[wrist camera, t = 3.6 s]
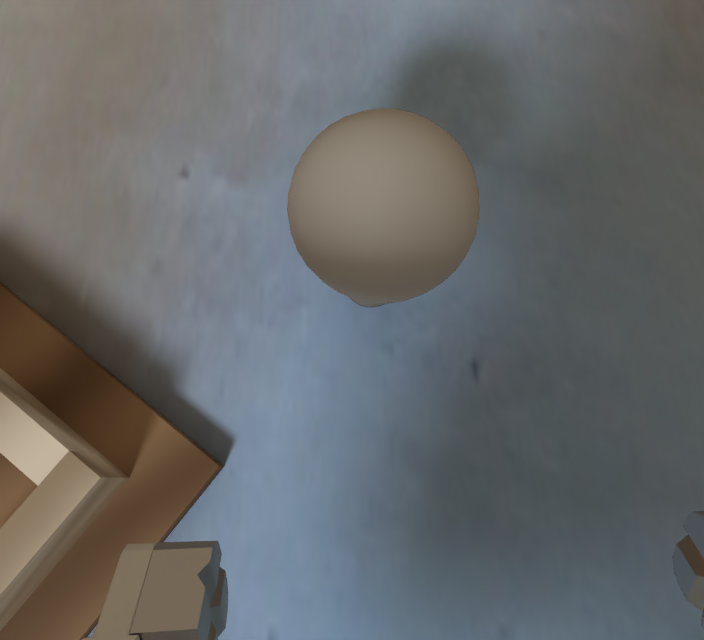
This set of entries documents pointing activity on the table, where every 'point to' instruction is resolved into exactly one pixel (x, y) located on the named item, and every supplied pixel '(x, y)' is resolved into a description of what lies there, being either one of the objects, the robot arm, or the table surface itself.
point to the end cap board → (77, 478)
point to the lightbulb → (383, 206)
